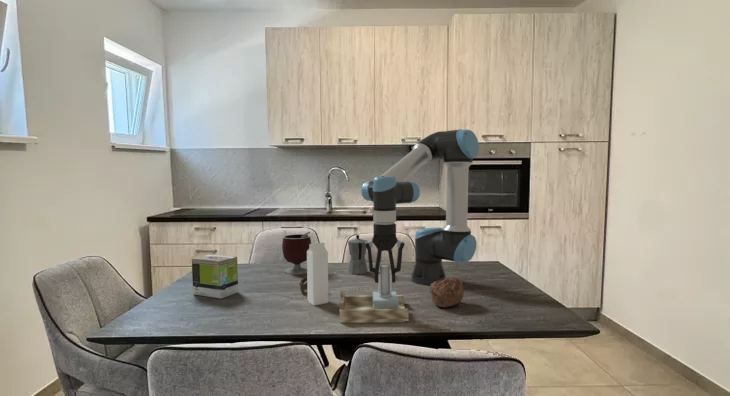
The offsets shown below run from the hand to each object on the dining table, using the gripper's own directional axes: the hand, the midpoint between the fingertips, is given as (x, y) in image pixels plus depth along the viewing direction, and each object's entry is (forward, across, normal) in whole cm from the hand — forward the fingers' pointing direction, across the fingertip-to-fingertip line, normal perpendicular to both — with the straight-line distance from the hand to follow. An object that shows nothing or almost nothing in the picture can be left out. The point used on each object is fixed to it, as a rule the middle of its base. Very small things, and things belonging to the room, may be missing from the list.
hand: (384, 291), depth 132 cm
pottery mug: (+8, +27, -26) cm, 38 cm away
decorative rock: (+8, -23, -8) cm, 26 cm away
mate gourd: (+8, +38, -58) cm, 70 cm away
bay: (+8, +4, -2) cm, 9 cm away
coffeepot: (+8, +9, -54) cm, 55 cm away
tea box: (+8, +66, -24) cm, 71 cm away
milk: (+8, +24, -13) cm, 28 cm away
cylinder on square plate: (+6, 0, 0) cm, 6 cm away
